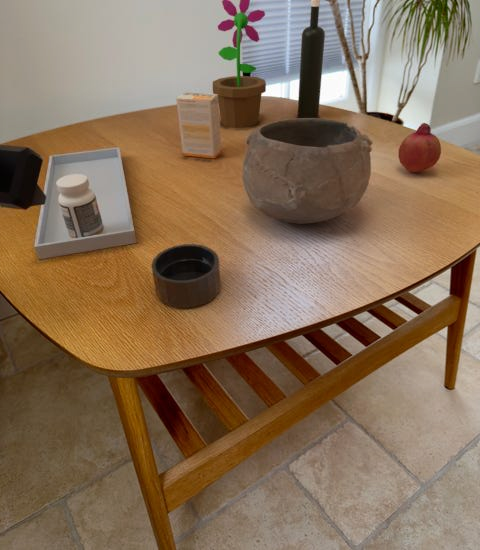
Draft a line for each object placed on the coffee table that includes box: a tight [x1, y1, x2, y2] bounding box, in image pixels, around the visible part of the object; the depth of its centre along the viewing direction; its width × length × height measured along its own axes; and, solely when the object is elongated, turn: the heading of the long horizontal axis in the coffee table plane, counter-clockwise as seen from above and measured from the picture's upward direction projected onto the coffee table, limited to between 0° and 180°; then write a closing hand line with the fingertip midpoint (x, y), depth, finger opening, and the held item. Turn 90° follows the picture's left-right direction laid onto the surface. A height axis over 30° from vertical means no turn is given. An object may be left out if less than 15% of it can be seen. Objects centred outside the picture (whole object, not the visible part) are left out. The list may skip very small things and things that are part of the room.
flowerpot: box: [212, 0, 267, 129], centre depth 111 cm, size 14×14×30 cm
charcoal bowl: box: [150, 243, 222, 309], centre depth 60 cm, size 9×9×4 cm
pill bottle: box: [56, 174, 104, 239], centre depth 69 cm, size 6×6×10 cm
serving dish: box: [33, 146, 137, 260], centre depth 84 cm, size 15×39×2 cm, turn 16°
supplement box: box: [175, 92, 222, 159], centre depth 97 cm, size 8×5×13 cm, turn 71°
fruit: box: [397, 122, 442, 173], centre depth 87 cm, size 8×8×10 cm
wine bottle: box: [297, 0, 326, 119], centre depth 113 cm, size 6×6×30 cm
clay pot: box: [241, 117, 374, 225], centre depth 73 cm, size 21×21×15 cm
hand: (13, 196), depth 55 cm, fingers open, 9 cm apart
